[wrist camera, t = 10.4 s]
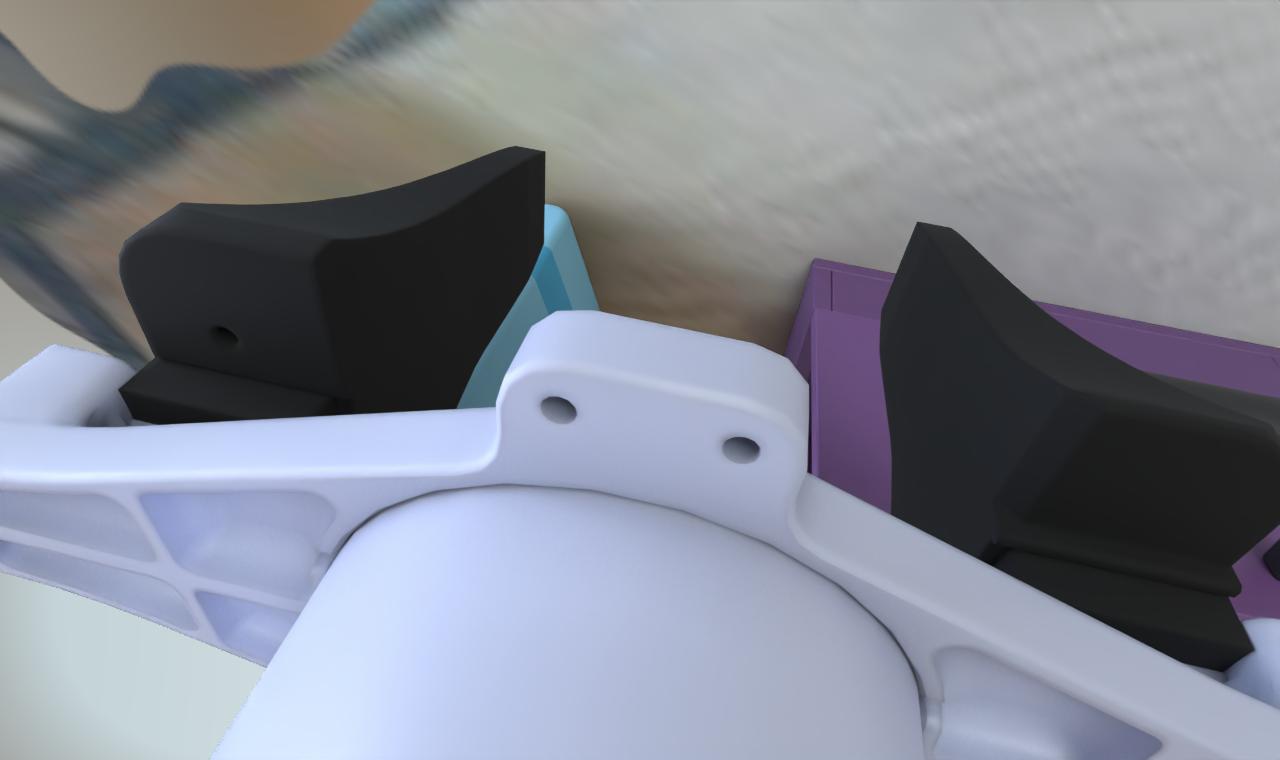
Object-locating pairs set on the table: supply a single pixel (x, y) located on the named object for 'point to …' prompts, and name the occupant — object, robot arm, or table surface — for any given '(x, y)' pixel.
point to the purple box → (1114, 335)
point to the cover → (861, 450)
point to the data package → (534, 306)
